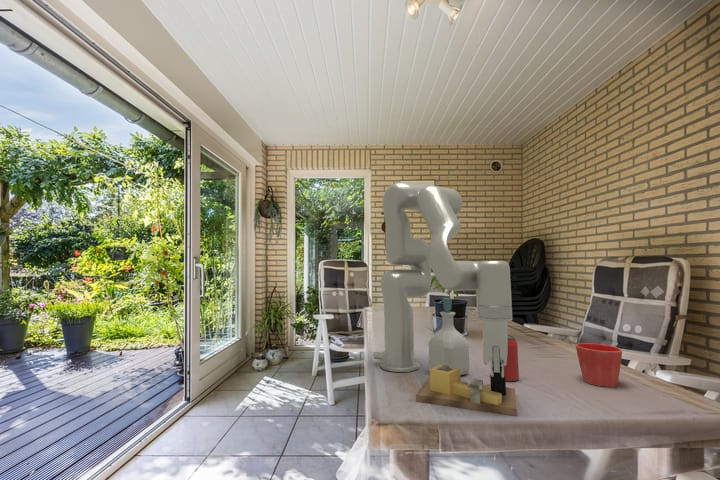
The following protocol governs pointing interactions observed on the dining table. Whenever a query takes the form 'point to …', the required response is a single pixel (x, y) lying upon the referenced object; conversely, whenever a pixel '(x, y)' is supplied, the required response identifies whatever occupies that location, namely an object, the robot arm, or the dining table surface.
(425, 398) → the bracket base
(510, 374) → the beer can
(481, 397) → the link
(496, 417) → the dining table surface
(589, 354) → the flower pot
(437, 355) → the soap bottle
